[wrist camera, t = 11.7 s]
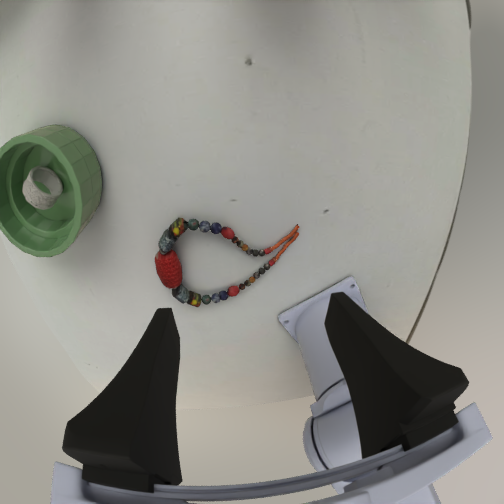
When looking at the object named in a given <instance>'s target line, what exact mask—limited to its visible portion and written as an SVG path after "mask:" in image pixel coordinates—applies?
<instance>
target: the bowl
mask: <svg viewBox="0 0 504 504" xmlns="http://www.w3.org/2000/svg"><path fill="white" fill-rule="evenodd" d="M36 166H44V167H48V168H49V169H51V170H53V171H54V172H55V173H56V174H57V175H58V176H59V178H60V180H61V182H62V185H63V191H62V193H61V195H60V197H59V198H57V201H56V202H55V203H54V205H53V207H52V208H49V209H45V210H42V209H39V208H35V207H34V206H32V205H31V204H30V203H29V202H28V201H27V200H26V198H25V196H24V194H23V192H22V191H23V184H24V181H25V180H26V179H27V177H28V175H29V172H30V171H31V169H32V168H34V167H36ZM50 173H52V172H50ZM55 177H56V176H55ZM33 182H34V183H35V184H36V185H37V187H38V188H39V189H40V190H42V191H43V192H45V193H47V194H51V192H50V190H49V189H48V188H47V187H46V186H45V185H44V184H43V183H41V182H38V181H33ZM101 192H102V179H101V169H100V166H99V163H98V160H97V158H96V155H95V152H94V150H93V149H92V148H91V146H90V145H89V144H88V142H87V141H86V140H85V138H84V137H83V136H81V135H80V134H78V133H77V132H75V131H74V130H72V129H71V128H69V127H65V126H60V125H50V126H45V127H41V128H38V129H35V130H32V131H30V132H27V133H24V134H21V135H19V136H16V137H14V138H12V139H11V140H10V141H8V142H7V143H6V144H5V145H3V146H2V147H1V149H0V229H1V231H2V232H3V233H4V235H5V236H6V237H7V238H8V240H9V241H10V242H11V243H12V244H14V245H15V246H16V247H18V248H19V249H20V250H22V251H23V252H25V253H28V254H31V255H33V256H36V257H52V256H55V255H57V254H60V253H63V252H64V251H65V250H66V249H67V248H68V247H69V246H70V245H71V244H72V243H73V242H74V241H75V240H76V238H77V237H78V236H79V234H80V233H81V232H82V230H83V229H84V228H85V226H86V225H87V224H88V223H89V221H90V220H91V219H92V217H93V215H94V214H95V212H96V210H97V208H98V206H99V203H100V197H101ZM31 202H32V201H31Z"/></svg>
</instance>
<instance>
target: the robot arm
mask: <svg viewBox="0 0 504 504" xmlns="http://www.w3.org/2000/svg"><path fill="white" fill-rule="evenodd" d="M352 284H353V285H352ZM351 285H352V286H351ZM278 319H279V321H280V323H281V324H282V325H283V326H284V327H285V329H286V330H287V331H288V332H289V333H290V335H291V336H292V337H293V338H294V339H295V341H296V342H297V343H298V344H299V346H300V349H301V353H302V356H303V359H304V362H305V366H306V369H307V372H308V375H309V378H310V382H311V385H312V388H313V392H314V395H315V398H316V401H317V402H315V403H314V404H312V405H311V406H310V407H311V411H312V414H313V416H311V417H310V418H308V419H307V421H306V423H305V428H304V431H303V444H304V448H305V452H306V455H307V457H308V459H309V461H310V463H311V465H312V466H313V467H314V469H315V470H316V471H317V472H316V473H311V474H307V475H302V476H298V477H292V478H287V479H281V480H274V481H267V482H259V483H250V484H239V485H223V486H177V485H179V484H180V483H181V482H182V475H181V469H180V461H179V453H178V443H177V429H176V393H177V382H178V373H179V363H180V337H179V333H178V330H177V326H176V323H175V319H174V316H173V312H172V308H158V309H157V310H156V312H155V314H154V316H153V318H152V320H151V322H150V324H149V325H148V327H147V329H146V331H145V333H144V334H143V336H142V338H141V339H140V341H139V343H138V345H137V346H136V348H135V349H134V351H133V352H132V354H131V355H130V357H129V359H128V360H127V361H126V363H125V364H124V366H123V367H122V368H121V370H120V371H119V372H118V374H117V375H116V376H115V377H114V379H113V380H112V381H111V382H110V383H109V384H108V386H107V387H106V388H105V389H104V390H103V391H102V392H101V393H100V394H99V395H98V396H97V397H96V398H95V399H94V400H93V401H92V402H91V403H90V404H89V405H88V406H87V407H86V408H85V409H83V410H82V411H81V412H80V413H78V414H77V415H76V416H75V417H73V418H72V419H71V420H69V421H68V423H67V426H66V429H65V434H64V440H63V446H62V449H63V451H64V452H65V453H66V454H67V455H69V456H70V457H72V458H74V459H75V460H77V461H79V462H80V463H82V464H83V470H82V469H80V468H77V467H74V466H70V465H66V464H63V463H60V462H55V463H54V470H53V479H52V490H51V504H194V503H188V502H186V501H231V500H244V499H255V498H264V497H271V496H277V495H284V494H290V493H295V492H300V491H304V490H309V489H314V488H318V487H322V486H325V485H329V484H331V485H332V487H333V488H334V489H335V490H336V492H337V493H338V494H339V495H336V496H333V497H329V498H325V499H321V500H317V501H312V502H308V503H303V504H441V502H440V500H439V498H438V496H437V493H436V491H435V489H434V487H433V484H432V483H433V482H435V481H436V480H438V479H439V478H441V477H443V476H444V475H446V474H447V473H449V472H450V471H451V470H453V469H454V468H455V467H457V466H458V465H460V464H461V463H462V462H464V461H465V460H466V459H468V458H469V457H470V456H472V455H473V454H474V453H476V452H477V451H478V450H479V449H481V448H482V447H483V446H485V445H486V444H487V443H488V442H489V441H491V440H492V435H491V433H490V431H489V429H488V427H487V425H486V423H485V421H484V419H483V417H482V415H481V413H480V411H479V409H478V407H477V405H476V403H475V402H474V403H472V404H470V405H469V406H467V407H465V408H464V409H462V410H461V411H459V412H458V413H456V414H455V413H454V411H453V410H454V409H455V408H456V406H455V404H454V401H455V400H456V399H457V398H458V397H459V396H460V395H461V394H462V393H463V392H464V391H465V389H466V388H467V386H468V384H469V381H468V380H467V378H466V376H465V374H464V373H463V371H462V370H461V368H458V367H455V366H452V365H450V364H447V363H444V362H441V361H439V360H437V359H434V358H432V357H430V356H428V355H426V354H424V353H422V352H420V351H419V350H417V349H414V348H413V347H411V346H410V345H408V344H407V343H405V342H404V341H402V340H401V339H399V338H398V337H396V336H395V335H393V334H392V333H391V332H389V331H388V330H387V329H386V328H384V327H383V326H382V325H380V324H379V323H378V322H377V321H376V320H374V319H373V318H372V317H371V316H370V315H369V314H368V311H367V308H366V306H365V303H364V300H363V298H362V295H361V293H360V290H359V288H358V285H357V283H356V280H355V279H354V277H348V278H346V279H344V280H343V281H341V282H339V283H337V284H335V285H334V286H332V287H330V288H328V289H326V290H325V291H323V292H321V293H319V294H317V295H315V296H314V297H312V298H310V299H308V300H306V301H304V302H302V303H300V304H299V305H297V306H295V307H293V308H291V309H289V310H287V311H285V312H283V313H281V314H280V315H279V316H278ZM285 320H287V321H285Z"/></svg>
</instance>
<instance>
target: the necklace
mask: <svg viewBox="0 0 504 504" xmlns="http://www.w3.org/2000/svg"><path fill="white" fill-rule="evenodd" d="M187 223H188V224H187ZM187 225H188V226H187ZM198 227H199V228H200V230H201V231H202V232H208V231H209V230H211V232H212V233H214V234H218V233H221V234H222V236H223V237H224V238H227V239H232V242H233V243H237V246H238V247H241V249H242V250H243V251H246V253H247V254H249V255H250V254H252V255H253V256H258V255H260V256H264V255H265V254H269V253H271V252H272V251H273V250H274V249H276V248H277V247H279V246H280V244H282V243H283V242H285V241H286V240H288V239H289V238H290V237H292V236H293V235H294V233H295V235H294V236H293V238H292V239H290V240H289V241H288V242H287V243H286V244H285V245H284V247H283V248H282V249H281V251H279V252H278V254H277V256H276V257H273V258H272V259H271V260H270V261H269V264H265V265H264V269H263V268H260V269H259V273H258V272H256V273H254V277H250V278H249V280H246V281H245V283H244V284H240V285H239V287H238V286H231V287H229V288H228V290H227V292H226V291H221V292H220V293H219V294H217V293H215V294H213V295H212V296H211V297H210V296H209V295H204V296H203V297H202V299H201V295H200V294H197V293H194V292H192V291H188V290H187V289H186V288H185V287H184V286H182V285H181V282H182V268H181V263H180V261H179V259H178V256H177V254H176V252H175V251H173V250H172V247H173V245H174V244H175V242H176V241H177V237H179V236H180V235H181V234H182V233H184V232H185V231H186V230H187V229H188V228H189V229H190V230H193V231H194V230H196V229H198ZM298 228H299V226H298V224H297V225H296V227H295V228H294V230H293V231H292V232H291V233H290V234H289V235H287V236H285V237H284V238H283V239H282V240H280V241H279V242H278V243H277V244H276V245H274V246H273V247H272V248H271V247H269V248H267V249H265V250H263V249H261V250H259V252H258V250H253V249H251V248H248V246H247V245H246V244H244V243H243V241H241V240H239V239H238V237H236V236H235V234H234V232H233V230H232V229H231V228H228V227H223V228H222V227H221V225H220V224H219V223H213V224H212V225H211V226H210V223H209V222H208V221H202V222H201V223H200V225H199V222H198V221H197V220H196V219H191V220H189V221H188V222H186V221H185V220H184V219H183V218H178V219H177V220H176V221H175V222H174V223H173V224H171V225H170V228H169V230H166V231H165V232H164V234H163V235H162V237H161V239H160V241H159V248H160V250H159V252H158V253H157V254H156V256H155V264H156V270H157V274H158V276H159V278H160V280H161V281H162V283H163V284H164V286H166V287H167V288H169V289H170V288H172V295H173V297H175V298H176V299H177V300H178V301H180V302H181V303H183V304H184V303H186V302H187V304H190V305H192V306H195V307H199V306H200V304H201V300H202V302H203V303H204V304H209V303H210V302H211V300H212V301H213V302H214V303H218V302H219V301H220V300H226V299H227V298H228V295H229V296H231V297H232V296H236V295H237V294H238V293H239V292H240V289H241V290H243V289H245V286H250V285H251V283H253V282H255V278H256V279H258V278H259V277H260V274H264V273H265V270H269V268H270V266H272V265H273V264H275V262H276V261H277V260H278V258H279V256H280V255H281V254H282V253H283V252H284V251H285V250H286V248H287V247H288V246H289V245H290V244H291V243H292V242H293V241H294V240H295V239H296V238H297V236H298V235H299V233H298V232H296V231H297V230H298ZM243 244H244V245H243Z"/></svg>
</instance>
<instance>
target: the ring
mask: <svg viewBox="0 0 504 504" xmlns="http://www.w3.org/2000/svg"><path fill="white" fill-rule="evenodd" d="M50 172H52V173H50ZM55 176H56V177H55ZM33 181H38V182H41V183H43V184H44V185H45V186H46V187H47V188H48V189H49V190H50V192H51V194H47V193H45V192H43V191H42V190H40V189H39V188H38V187H37V185H36V184H35V183H34V182H33ZM62 191H63V185H62V182H61V180H60V178H59V176H58V175H57V174H56V173H55V172H54V171H53V170H51V169H49V168H48V167H44V166H36V167H34V168H32V169H31V171H30V172H29V175H28V177H27V179H26V180H25V181H24V184H23V191H22V192H23V194H24V196H25V198H26V200H27V201H28V202H29V203H30V204H31V205H32V206H34V207H35V208H39V209H42V210H45V209H49V208H52V207H53V205H54V203H55V202H56V201H57V198H59V197H60V195H61V193H62ZM31 201H32V202H31Z"/></svg>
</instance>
